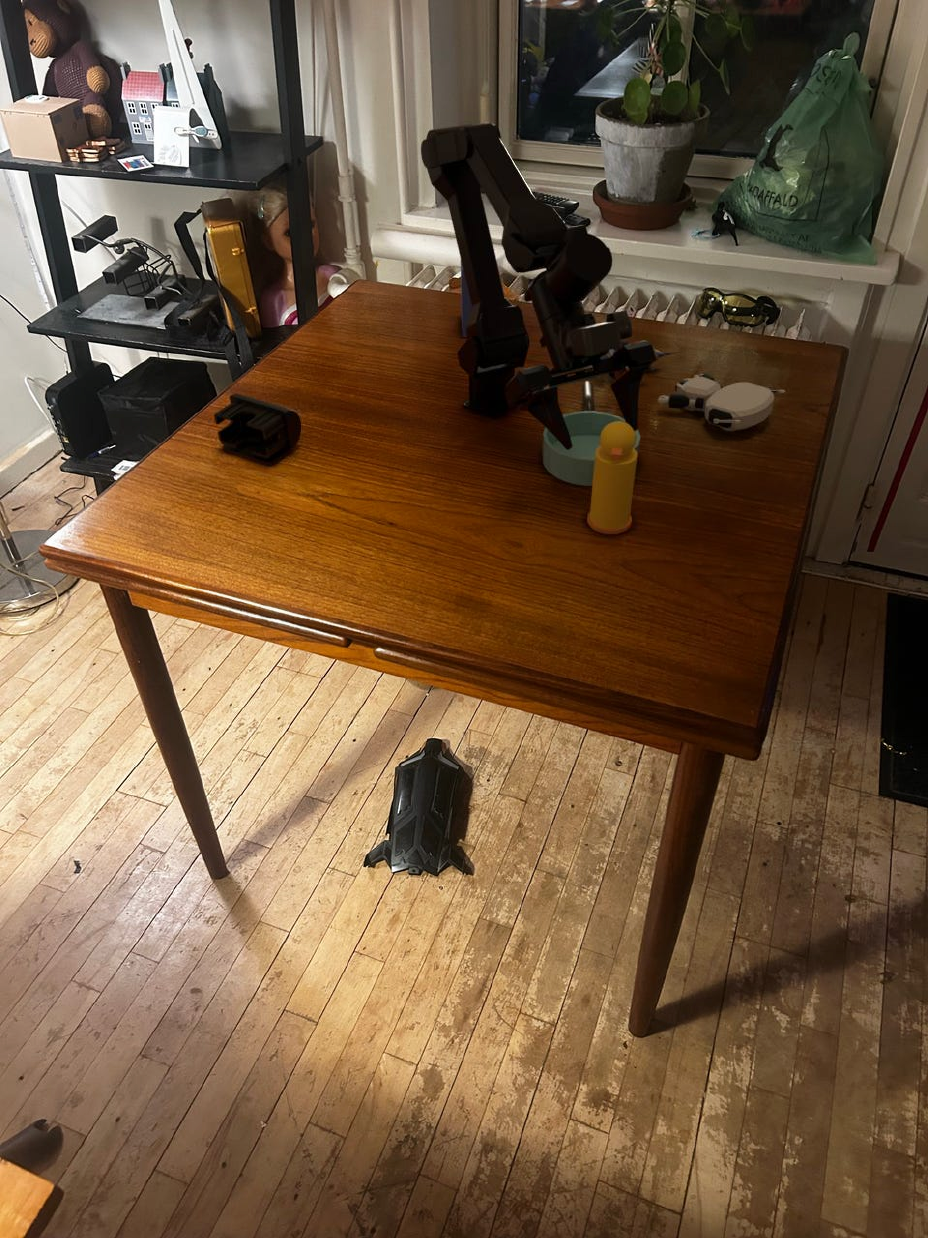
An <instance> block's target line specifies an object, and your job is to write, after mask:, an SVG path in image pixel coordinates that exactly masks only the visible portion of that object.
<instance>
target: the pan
mask: <svg viewBox="0 0 928 1238" xmlns="http://www.w3.org/2000/svg"><path fill="white" fill-rule="evenodd" d="M562 415H563V418H564V420H565V423H566V426H567V428H568V431H569V434H570V437H571V441H572V448H571V449H569V450H567V449H566V448H565V447H564V446H563V445H562V444H561V443H560V442H559V441H558V440H557V439H556V438H555V437H554V435H553V434H552V433H551V432H550V431H549V430H548V429H547V428H546V427H544V430H543V433H542V450H541V451H542V452H541V455H542V464H543V466H544V468H545V469H546V471H548V473H550V474H551V475H552V476H553V477H555V478H557V479H559V480H560V481H563V482H566V483H569V484H572V485H577V486H585V487H592V486H593V475H594V463H595V452H596V450H597V448H598V447H599V446H601V444H600V436H601V433H602V431H603V429H604V428H605V427H606V426H607V425H608V424H610V423H612V422H615V421H622V422H625V419H624V417H621V416H619V415H615V414H612V413H608V412H603V411H596V410H595V411H574V412H569V413H564V414H562ZM625 423H626V422H625ZM635 435H636V442H635V446H634V449H635V450H636V452H637V461H638V460H639V454H640V453H639V452H640V446H641V435H640V432H639V429H637V430H636V431H635ZM637 465H638V462H637V463H636V466H637Z"/></svg>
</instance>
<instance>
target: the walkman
mask: <svg viewBox="0 0 928 1238" xmlns="http://www.w3.org/2000/svg"><path fill="white" fill-rule="evenodd" d="M460 288H461V289H460V295H461V300H460V301H461V327H462V329H461V330H462V338H467V334H466V325H467V322H468V318H469V315H470V312H471V308H472V305H471V300H470V296H469V292H468V287H467V283H466V279H465V274H464V270H463V266H462V262H461V261H460Z"/></svg>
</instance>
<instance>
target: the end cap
mask: <svg viewBox="0 0 928 1238" xmlns="http://www.w3.org/2000/svg"><path fill="white" fill-rule="evenodd" d="M229 401H230V404H228V405H225V407H223V408H222V409H220V410H218V411H216V412H215V413H214V414H213V417H214V423H215V425H217V426H218V425H220V424H221V423H223V422H224V421H225V420H226V421H230V422H229V423H228V424H227V425H226V426H224V427H223V428H222V429H220V430H218V431H217V436H218V440H219V442H220V443H221V444H222V451H223V452H225V453H228V454H231V455H233V456H237V457H240V458H243V459H246V460H249V461H252V462H255V463H257V464H261V465H264V466H267V467H273V466H275V465H276V464H278V463H279V462H281V461H282V460H283V459H285V458H286V457H288V456H289V455H290V453H291V452H292V451H293V449H294V448H295V447H296V445H297V444H298V442H299V440H300V437H301V433H302V421H301V417H300V415H299V413H298V412H297V411H296V410H294V409H292V408H288V407H285V406H281V405H278V404H275V403H271V402H268V401H265V400H262V399H258V398H255V397H251V396H248V395H245V394H241V393H233V394H230V395H229Z"/></svg>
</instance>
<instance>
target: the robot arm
mask: <svg viewBox="0 0 928 1238" xmlns="http://www.w3.org/2000/svg"><path fill="white" fill-rule="evenodd" d="M420 155H421V156H420V157H421V161H422V163H423V166H424V167H425V168H426V170H427V173H428V177H429V181H430V183H431V185H432V187H434V189H435V190H436V191H437V192H438V193H439V194H440V195H441V196H442V198H444V199H445V200H446V202H447V205H448V209H449V214H450V218H451V222H452V226H453V231H454V235H455V240H456V245H457V248H458V253H459V258H460V263H461V262H462V266H463V270H464V274H465V279H466V283H467V287H468V292H469V296H470V300H471V305H472V308H471V312H470V315H469V318H468V322H467V325H466V334H467V337H466V340H465V342H464V343H463V344H462V346H461V347H460V348H459V350H458V351H457V357H458V364H459V367H460V368H461V369H462V370H463V371H464V373H466V374H467V375H468V399H467V400H466V401H463V404H462V407H463V408H464V409H468V410H470V411H474V412H477V413H480V414H483V415H486V416H489V417H493V418H496V419H498V418H501V417H502V416H504V415H505V414H506V413H507V412H508V411H509V410H511V409H512V408H513V407H518V406H519V410H520V411H521V412H525V411H526V412H528V413H529V414H530V415H531V416H533V417H534V418H535V419H536V420H537V421H538V422H539V423H540V424H542V425H543V426H544V428H547V429H548V430H549V431H550V432H551V433H552V434H553V435H554V437H555V438H556V439H557V440H558V441H559V442H560V443H561V444H562V445H563V446H564V447H565V448H566V449H567V450H569V449H571V448H572V441H571V437H570V434H569V431H568V428H567V426H566V423H565V420H564V418H563V415H564V414H563V412H562V409H561V408H560V405H559V391H558V389H559V388H558V387H562V386H566V385H569V384H573V383H577V382H582V381H585V380H586V381H587V380H590V379H594V378H598V377H602V376H606V375H608V378H609V377H611V378H612V379H614V381H613V382H612V384H610V387H611V388H610V389H611V391H612V393H613V395H614V398H615V400H616V402H617V405H618V407H619V409H620V412H621V415H622V416H623V417H622V418H623V419H625V422H626V423H627V424H629V425H630V426H631V427H632V428H633V430H634V432H635V431H636V430H637V429H638V428H639V395H640V386H641V382H642V379H643V376H644V375H645V374H647V373H646V372H647V371H648V370H650V365H652V364H653V365H654V363H655V362H657V361H658V360H659V358H657V355H656V352H655V350H656V349H655V346H654V345H653V344H652V343H650V342H649V341H648V340H645V339H644V340H642V341H637V342H632V343H629V344H628V345H624V346H622V343H621V341H622V340H625V339H629V338H632V336H633V324H632V321H631V319H630V316H629V314H628V312H627V309H623V310H618V311H614V312H609V313H607V314H606V320H605V322H604V321H603V322H599V323H597V321H596V317H595V316H594V315H593V313H592V312H590V313H586V310H585V307H584V304H583V301H584V300H585V299H587V297H589V296H590V295H591V293H592V292H593V291H594V290H595V289H596V288H597V287H598V286H599V284H601V283H602V282H603V280H604V279H606V277H607V276H608V275H609V274H610V272H611V270H612V267H613V256H612V255H613V254H612V252H611V248H609V246H607V244H606V243H605V242H604V241H603V240H602V239H601V238H599V237H597V236H596V235H594V234H591V233H588V229H587V226H586V225H585V224H580V225H576V226H570V227H568V226H567V224H566V222H565V221H564V220H563V218H562V217H561V216H560V214H558V213H557V211H556V210H555V209H554V208H553V206H551V205H549V204H547V203H545V202H543V201H541V200H538V199H537V198H536V197H535V195H534V194H533V193H532V191H531V189H530V187H529V185H528V184H527V183H526V181H525V179H524V177H523V175H522V174H521V171H520V170H519V169H518V167H517V166H516V163H515V162H514V160H513V159H512V157H511V155H510V153H509V152H508V150H507V148H506V147H505V145H504V143H503V142H502V135H501V131H500V128H499V126H498V125H497V124H495V123H491V122H482V123H475V124H472V123H469V124H462V125H461V124H460V125H454V126H447V127H440V128H433V129H430V130H428V132H427V134H426V138H425V139H423V140H422V142H421V145H420ZM482 191H483V192H484V194H485V196H486V197H487V200H488V202H489V203H490V205H491V206H492V209H493V210H494V212H495V214H496V215H497V217H498V218H499V222H501V226H502V228H503V229H502V234H501V242H500V243H501V246H502V249H503V250H504V251H503V252H504V256H505V259H506V262H507V263H508V264H509V265H510V267H511V268H512V270H513V271H514V272H516V273H517V274H519V273H520V274H524V273H529V272H530V273H531V272H535V271H539V270H543V271H541V272H540V273H538V274H537V275H536V276H535V277H531V278H529V279H528V281H527V287H526V289H525V291H524V293H523V294H524V295H523V300H524V302H526V303H528V302H531V303H532V304H531V305H532V307H533V310H534V313H535V315H536V318H537V321H538V325H539V328H540V331H541V334H542V336H541V338H539V344H540V347H541V348H543V349H544V348H546V349H547V352H548V355H549V358H550V360H551V364H552V368H551V369H550V368H549V367H548V366H547V365H546V364H539V365H535V366H532V367H527V368H524V367H525V365H526V359H527V355H528V351H529V348H530V343H531V341H530V336H529V334H528V330H527V328H526V325H525V322H524V317H523V311H522V308H521V307H520V306H519V305H518V304H516V305H513V304H512V302H510V300H508V298H506V296H505V293H504V287H503V284H502V280H501V275H500V270H499V266H498V262H497V257H496V253H495V248H494V244H493V239H492V235H491V230H490V225H489V221H488V217H487V212H486V207H485V203H484V198H483V194H482ZM544 269H545V270H544ZM611 349H613V350H617V351H616V352H615V353H614V354H613V355H612V356H609V357H607V358H606V359H602V360H601V358H600V357H601V356H604V355H606V356H607V355H608V354H609V353H608V352H609V350H611ZM517 368H522V369H519V370H518V371H517V372H516V369H517ZM638 430H639V429H638Z"/></svg>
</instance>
